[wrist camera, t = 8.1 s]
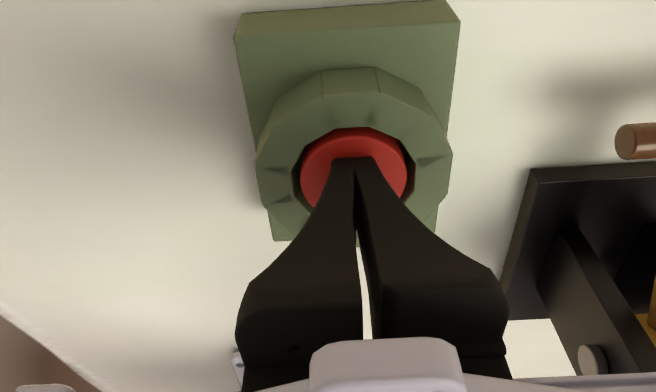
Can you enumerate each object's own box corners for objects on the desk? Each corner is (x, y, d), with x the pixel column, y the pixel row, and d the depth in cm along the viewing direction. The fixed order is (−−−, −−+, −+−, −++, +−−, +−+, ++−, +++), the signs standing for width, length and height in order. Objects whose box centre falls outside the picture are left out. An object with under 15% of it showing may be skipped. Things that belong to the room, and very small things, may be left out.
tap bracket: (530, 168, 20) (629, 331, 14) (715, 157, 20) (903, 317, 13) (492, 306, 26) (547, 461, 20) (631, 299, 26) (732, 454, 20)
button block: (426, 200, 21) (444, 265, 18) (276, 208, 21) (269, 274, 18) (446, -2, 15) (477, 43, 12) (241, 12, 16) (222, 60, 12)
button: (398, 188, 18) (405, 218, 16) (306, 193, 18) (305, 224, 16) (402, 105, 15) (410, 133, 14) (296, 112, 15) (294, 140, 14)
